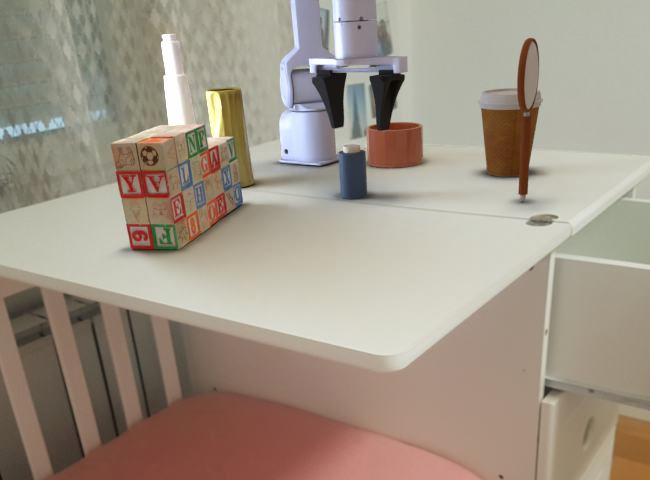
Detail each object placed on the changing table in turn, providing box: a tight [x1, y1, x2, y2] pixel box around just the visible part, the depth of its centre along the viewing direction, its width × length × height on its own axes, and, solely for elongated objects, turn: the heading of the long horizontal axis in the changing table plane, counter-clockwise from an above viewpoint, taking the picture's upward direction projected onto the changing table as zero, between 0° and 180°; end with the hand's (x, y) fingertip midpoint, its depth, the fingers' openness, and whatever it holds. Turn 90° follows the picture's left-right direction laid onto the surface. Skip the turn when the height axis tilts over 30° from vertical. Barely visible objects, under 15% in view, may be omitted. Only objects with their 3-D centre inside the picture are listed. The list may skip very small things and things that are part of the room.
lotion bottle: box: [337, 144, 368, 200], centre depth 101 cm, size 4×4×7 cm
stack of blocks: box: [110, 123, 244, 250], centre depth 90 cm, size 21×6×12 cm, turn 168°
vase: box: [205, 86, 256, 189], centre depth 110 cm, size 6×6×14 cm
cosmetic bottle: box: [160, 33, 197, 125], centre depth 114 cm, size 6×6×22 cm
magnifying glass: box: [516, 37, 540, 202], centre depth 90 cm, size 9×2×20 cm, turn 155°
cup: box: [365, 121, 424, 169], centre depth 122 cm, size 9×9×6 cm
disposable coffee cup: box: [477, 87, 544, 178], centre depth 109 cm, size 10×10×12 cm
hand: (360, 128), depth 99 cm, fingers open, 7 cm apart
